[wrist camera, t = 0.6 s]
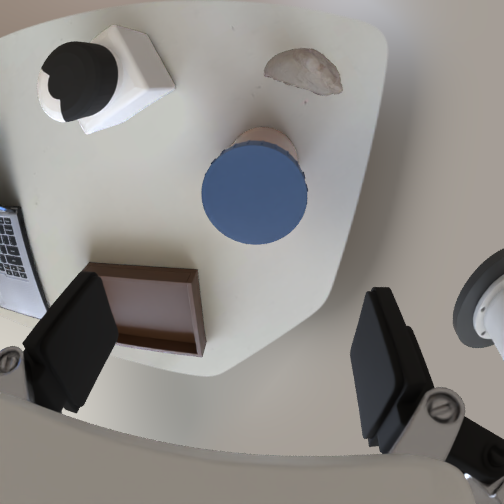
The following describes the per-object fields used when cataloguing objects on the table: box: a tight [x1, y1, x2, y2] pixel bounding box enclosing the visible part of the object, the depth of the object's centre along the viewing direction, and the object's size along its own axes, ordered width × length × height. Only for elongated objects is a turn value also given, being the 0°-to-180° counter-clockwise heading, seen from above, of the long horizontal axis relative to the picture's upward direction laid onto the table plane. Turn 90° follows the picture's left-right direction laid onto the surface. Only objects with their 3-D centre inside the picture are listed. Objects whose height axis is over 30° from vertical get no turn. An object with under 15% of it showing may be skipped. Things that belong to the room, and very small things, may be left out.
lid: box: [202, 140, 308, 245], centre depth 21 cm, size 7×7×2 cm
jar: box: [229, 127, 300, 166], centre depth 25 cm, size 7×7×11 cm
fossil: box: [264, 48, 343, 96], centre depth 21 cm, size 6×4×10 cm, turn 78°
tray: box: [82, 262, 206, 357], centre depth 39 cm, size 15×12×3 cm
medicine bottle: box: [37, 25, 175, 134], centre depth 21 cm, size 7×7×12 cm
